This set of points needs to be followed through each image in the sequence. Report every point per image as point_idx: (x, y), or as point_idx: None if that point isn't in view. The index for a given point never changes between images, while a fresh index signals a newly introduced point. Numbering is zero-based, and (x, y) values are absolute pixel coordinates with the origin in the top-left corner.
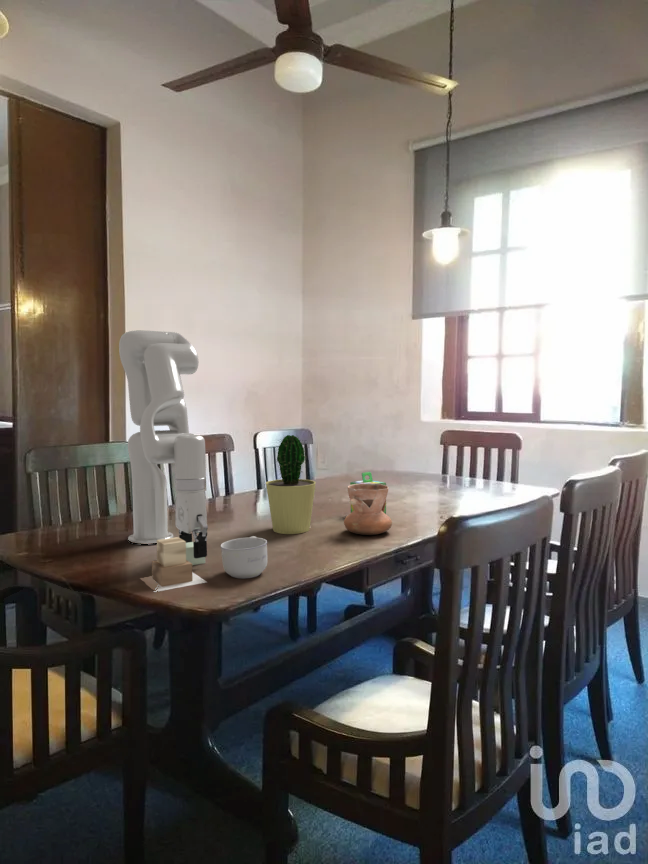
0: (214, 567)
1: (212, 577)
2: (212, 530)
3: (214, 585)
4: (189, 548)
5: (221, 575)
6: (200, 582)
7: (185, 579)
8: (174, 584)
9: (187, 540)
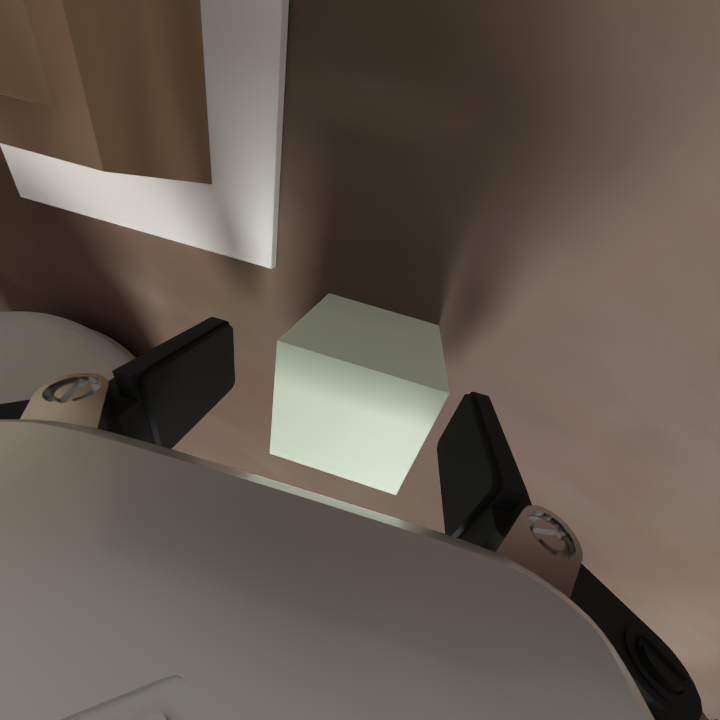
0: (253, 376)
1: (123, 279)
2: (691, 665)
3: (7, 209)
4: (280, 364)
5: (137, 322)
6: (18, 163)
7: None
8: None
9: (454, 475)
